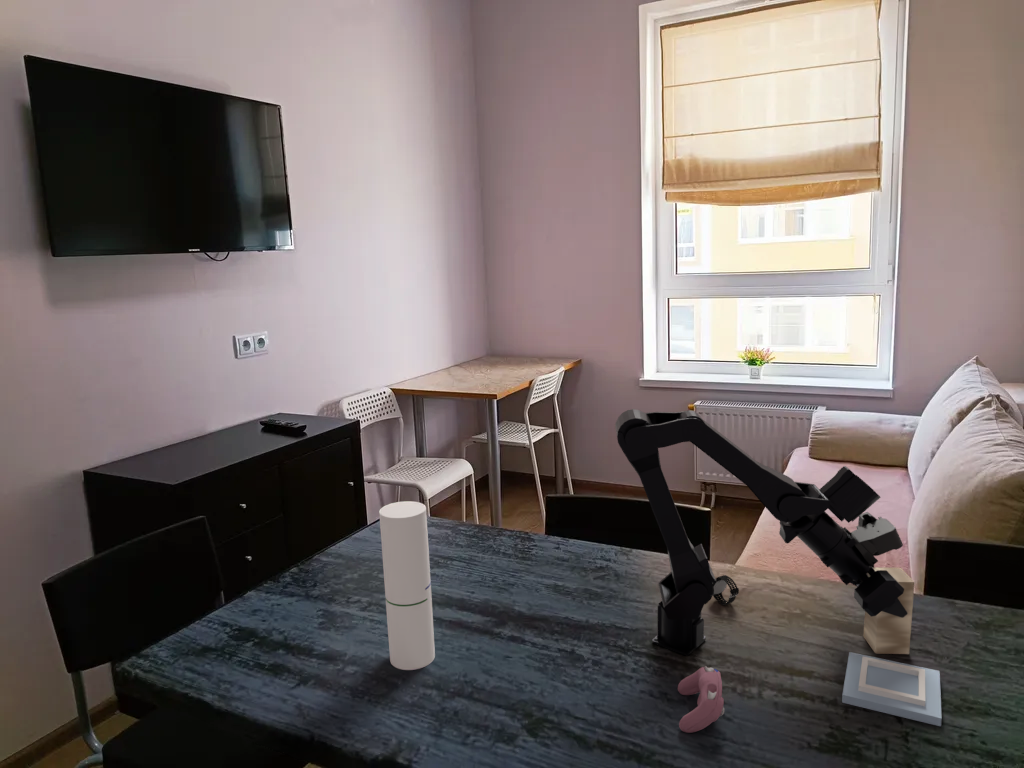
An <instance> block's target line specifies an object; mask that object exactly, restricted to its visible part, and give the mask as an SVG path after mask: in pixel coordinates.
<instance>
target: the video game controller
mask: <svg viewBox="0 0 1024 768" xmlns="http://www.w3.org/2000/svg"><path fill="white" fill-rule="evenodd" d="M721 675H722V674H721V672H720V670H718V669H716V668H714V667H707V665H705V666H701V667H700V668H699V669H697V670H696V671H695V672H693V673H691V674H690V675H688V676H686V677H684V678H683V679H681V680H680V681H679V682H678V685H677V691H678V692H679V694H680V695H683V696H690V695H696V694H699V695H698V696H697V701H696V702H697V703H696V704H697V706H696V707H695V708H694V709H693V710H691V711H690V712H688V713H687V714H685V715H683V716H682V718H681V719H680V720H679V722H678V727H679V729H680V730H681V731H682V732H684V733H696V732H699V731H701V730H703V729H705V728H707V727H708V726H710V725H711V724H712V723H714V722H716V721H717V720H718V719H719V717H722V716H723V715H724V714H725V707H724V704H725V703H724V702H725V701H724V697H723V681H722V677H721Z"/></svg>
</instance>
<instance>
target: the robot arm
mask: <svg viewBox="0 0 1024 768" xmlns="http://www.w3.org/2000/svg"><path fill="white" fill-rule="evenodd" d="M614 425H615V426H614V429H615V433H616V439H617V443H618V446H619V447H620V450H621V451H622V452H623V454H624V455H625V457H626V459H627V460H628V462H629V464H630V465H631V466H632V467H633V469H634V470H635V473H637V475H638V476H639V479H640V482H641V484H642V487H643V489H644V493H645V495H646V497H647V500H648V502H649V504H650V505H649V506H650V507H651V510H652V513H653V515H654V518H655V521H656V523H657V526H658V527H659V528H658V529H659V531H660V533H661V536H662V538H663V541H664V545H665V546H666V549H667V554H668V555H667V557H668V562H669V566H670V572H669V573H668V574H666V576H665V577H663V579H661V580H660V581H658V584H657V585H658V588H659V593H660V598H661V601H660V602H659V603H657V608H656V609H657V617H656V619H657V632H656V633H657V635H656V636H654V637H653V638H652V641H651V642H652V644H654V645H656V646H660V647H662V648H664V649H668V650H670V651H672V652H675V653H677V654H681V655H683V656H690V654H691V653H692V652H694V651H695V650H696V649H697V648H698V647H699V646H701V644H703V643H704V642H705V641H706V637H707V636H706V635H705V634H704V633H705V632H704V631H705V627H704V626H705V620H704V618H703V617H702V610H703V608H704V606H705V605H706V604H708V603H709V602H710V601H711V599H712V598H713V595H714V587H713V584H712V583H716V577H715V574H714V572H713V570H712V567H711V564H710V563H709V559H708V556H707V554H706V552H705V549H704V547H703V544H702V543H700V544H698V545H696V546H694V545H693V544H692V543H691V541H690V539H689V538H688V535H687V533H686V530H685V527H684V525H683V522H682V520H681V516H680V514H679V511H678V509H677V506H676V503H675V501H674V499H673V496H672V493H671V491H670V488H669V485H668V483H667V480H666V478H665V475H664V472H663V469H662V466H661V460H660V459H661V458H660V452H659V449H661V448H663V449H664V448H667V447H671V446H673V445H677V444H681V443H689V442H690V443H692V445H694V447H697V448H698V449H699V450H701V451H702V452H703V453H704V454H705V455H707V456H708V457H710V458H711V459H712V460H713V461H715V462H716V463H717V464H718V465H720V466H721V467H722V468H723V469H725V470H726V471H728V472H729V474H731V475H732V476H734V477H735V478H736V479H738V480H739V481H740V482H742V483H743V484H744V485H745V486H747V488H748V489H749V490H750V491H751V492H752V494H754V496H755V497H756V498H757V499H758V500H759V501H760V503H761V504H762V505H763V506H764V507H765V509H766V510H767V511H769V513H770V514H771V515H772V516H773V517H774V518H775V519H776V520H778V522H779V525H780V526H779V527H780V528H779V531H778V533H779V534H778V535H780V538H781V539H782V541H784V543H785V544H790V543H791V542H792V541H793V540H794V539H796V537H797V538H798V539H799V540H800V541H801V542H802V543H804V544H805V545H806V546H807V547H808V548H809V550H811V551H812V552H813V553H814V554H815V555H816V556H817V557H818V558H819V560H821V562H822V564H823V565H824V566H826V567H827V568H830V569H831V571H833V573H835V574H836V575H837V577H838V578H839V579H840V580H841V582H842V583H844V584H845V585H846V586H848V585H849V584H851V585H853V586H855V589H854V592H853V598H854V599H855V601H856V602H857V603H858V605H859V606H860V607H861V608H862V609H863V611H864V612H865V611H866V612H867V613H868V614H869V615H870V616H876V615H877V614H879V613H880V612H881V611H883V612H886V613H889V614H892V615H895V616H898V617H901V618H903V617H905V616H906V615H907V614H908V613H907V611H906V610H905V608H904V607H903V605H902V604H901V602H900V601H899V599H898V597H899V596H901V595H902V594H903V592H904V588H903V587H902V586H901V585H900V584H899V582H898V581H897V580H896V579H895V578H894V577H893V576H892V575H891V574H890V573H889V572H888V571H887V570H877V571H875V570H874V569H873V568H872V567H875V565H876V564H877V563H878V562H879V560H878V559H877V558H876V557H877V556H881V555H884V554H885V553H888V552H891V551H894V550H897V551H898V550H899V549H901V548H902V547H903V546H904V543H903V542H902V540H901V537H900V534H899V532H898V530H897V528H896V526H895V525H894V524H893V523H892V522H891V521H890V520H889V519H887V518H883V517H882V516H879V517H878V518H876V517H875V516H874V515H872V514H871V513H870V512H868V511H867V510H868V509H869V508H870V507H872V505H874V504H875V503H876V502H877V501H878V500H880V499H881V496H880V495H879V494H878V493H877V492H876V491H875V490H874V489H873V488H872V487H871V486H870V485H869V484H867V482H865V480H863V479H861V477H860V476H858V475H856V474H855V473H854V472H853V471H852V470H851V469H850V468H849V467H848V466H847V465H843V466H842V467H841V468H840V469H839V470H837V472H836V473H835V475H834V476H832V478H830V479H829V481H827V482H826V483H825V484H824V485H823V486H822V487H820V488H819V487H818V486H817V485H816V484H815V483H807V482H801V481H800V482H799V481H794V479H793V478H791V477H790V476H788V475H787V474H784V473H782V472H780V471H778V470H776V469H774V468H772V467H770V466H768V465H765V464H763V463H761V462H759V461H757V460H756V459H755V458H754V457H752V456H750V455H749V454H747V452H745V451H744V450H743V449H742V448H740V447H739V446H737V444H735V443H734V442H733V441H732V440H731V439H729V438H728V437H726V436H725V435H723V433H721V432H720V431H719V430H717V429H716V428H714V427H713V426H712V425H711V424H710V423H709V422H707V421H706V420H705V419H703V418H702V417H701V415H700V414H699V413H698V412H696V411H694V410H684V411H676V412H675V411H649V412H644V411H642V410H640V409H628V410H626V411H624V412H622V413H621V414H620V415H619V416H618V417H617V419H616V421H615V424H614ZM827 510H829V511H830V513H832V514H833V515H834V516H835V517H836V518H837V519H838V520H839V521H840V522H843V521H844V520H845V521H846V522H847V523H848V524H849V523H851V522H852V523H853V522H854V521H855V520H857V519H858V523H857V525H856V526H855V530H853V531H850V530H848V529H847V528H846V527H845V526H844V527H843V526H841V525H839V524H838V523H837V521H835V520H834V518H833V517H831V516H830V515H829V514H828V513H827V512H826V511H827ZM867 572H868V574H869V575H870V577H869V576H868V574H867Z"/></svg>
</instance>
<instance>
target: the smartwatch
mask: <svg viewBox="0 0 1024 768" xmlns="http://www.w3.org/2000/svg"><path fill="white" fill-rule="evenodd" d="M715 579H716V583H712V584H713V587H714V595H713V596H712V598H714V600H715V601H716V602H718V604H720V605H722V606H726V605H730V604H732V603H733V602H734V601H735V600H736V597H737V596H738V595H739V592H740V589H739V587H738V586H737V584H736V582H735V581H734V580H733V579H732V578H731V577H730V576H729V575H726V574H724V575H721V576H717V577H715ZM727 586H728V587H729V593H730V594H729V597H728V600H726V599H725V598H724V596H723V592H724V591H725V590H726V589H727ZM726 602H727V603H726Z"/></svg>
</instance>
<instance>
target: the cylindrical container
mask: <svg viewBox="0 0 1024 768" xmlns="http://www.w3.org/2000/svg"><path fill="white" fill-rule="evenodd" d="M427 517H428V516H427V506H426V505H425V504H424V503H422V502H419V501H413V500H412V501H411V500H410V501H404V500H403V501H397V502H392V503H388V504H386V505H384V506H382V507H381V508H380V509H379V527H380V541H381V556H382V567H383V579H384V580H383V581H384V595H385V610H386V622H387V636H388V637H387V639H388V646H389V647H388V648H389V661H390V664H391V665H392V666H393V667H394V668H396V669H398V670H403V671H413V670H419V669H422V668H425V667H427V666H429V665H430V664H431V663H432V662H433V661H434V660H435V657H436V653H435V652H436V651H435V650H436V649H435V634H434V616H433V615H434V614H433V600H432V598H433V597H432V584H431V571H430V570H431V568H430V566H431V565H430V550H429V535H428V518H427Z"/></svg>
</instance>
